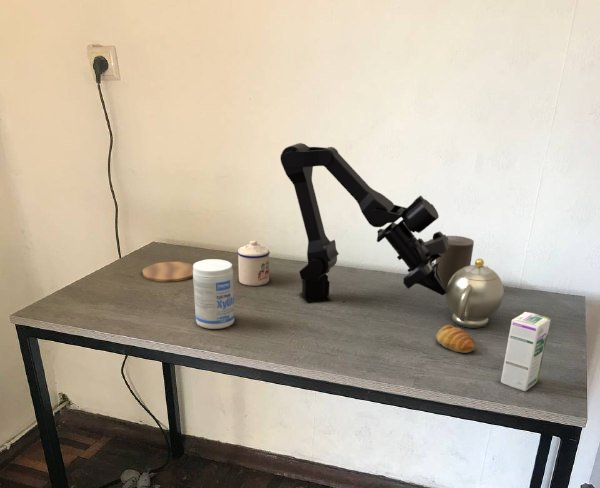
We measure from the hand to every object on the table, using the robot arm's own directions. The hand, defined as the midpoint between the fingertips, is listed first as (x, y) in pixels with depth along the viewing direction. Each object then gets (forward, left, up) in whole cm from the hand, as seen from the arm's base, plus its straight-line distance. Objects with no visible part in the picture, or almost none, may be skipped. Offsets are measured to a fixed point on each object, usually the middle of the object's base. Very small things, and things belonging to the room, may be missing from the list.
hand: (444, 293), depth 158 cm
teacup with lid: (-38, +40, -7) cm, 56 cm away
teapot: (+5, -5, -7) cm, 10 cm away
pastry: (-4, -15, -7) cm, 17 cm away
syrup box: (0, -35, -7) cm, 35 cm away
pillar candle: (+13, +20, -7) cm, 25 cm away
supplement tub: (-55, +12, -7) cm, 57 cm away
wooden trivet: (-61, +52, -7) cm, 81 cm away
